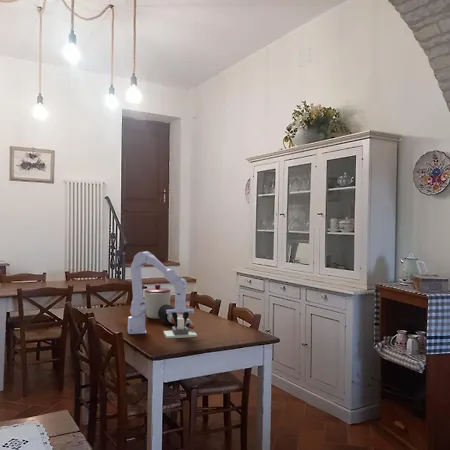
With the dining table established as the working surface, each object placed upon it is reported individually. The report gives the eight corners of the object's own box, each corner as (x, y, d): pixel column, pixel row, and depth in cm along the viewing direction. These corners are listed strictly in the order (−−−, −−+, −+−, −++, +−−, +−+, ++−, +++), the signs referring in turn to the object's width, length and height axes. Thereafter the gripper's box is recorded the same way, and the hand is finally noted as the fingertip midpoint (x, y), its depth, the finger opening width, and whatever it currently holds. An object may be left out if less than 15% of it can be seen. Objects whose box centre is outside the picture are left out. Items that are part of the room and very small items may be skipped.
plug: (177, 331, 250) (177, 319, 250) (176, 328, 255) (176, 317, 255) (184, 330, 251) (184, 319, 251) (182, 328, 256) (182, 317, 256)
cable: (188, 340, 256) (181, 325, 253) (161, 323, 285) (155, 309, 281) (203, 330, 261) (196, 315, 258) (175, 314, 289) (169, 301, 286)
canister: (174, 315, 308) (174, 282, 308) (168, 320, 290) (168, 286, 290) (147, 314, 310) (147, 282, 310) (139, 319, 292) (139, 285, 292)
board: (166, 338, 246) (166, 331, 246) (163, 333, 257) (163, 326, 257) (196, 336, 250) (197, 329, 250) (192, 331, 261) (192, 325, 261)
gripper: (167, 303, 248) (167, 329, 248) (195, 302, 251) (194, 327, 251) (166, 300, 254) (165, 326, 254) (192, 300, 258) (192, 324, 258)
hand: (180, 326), depth 253 cm, fingers closed on plug, 3 cm apart
